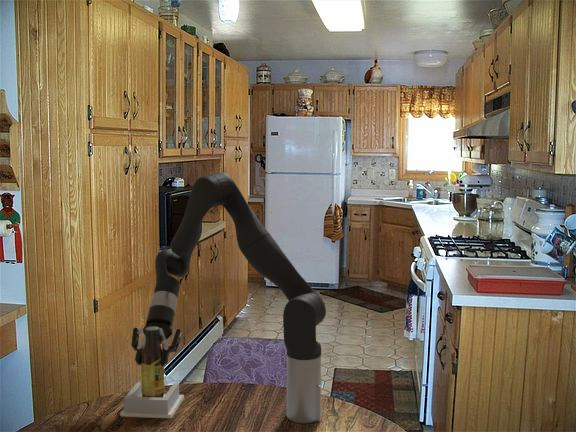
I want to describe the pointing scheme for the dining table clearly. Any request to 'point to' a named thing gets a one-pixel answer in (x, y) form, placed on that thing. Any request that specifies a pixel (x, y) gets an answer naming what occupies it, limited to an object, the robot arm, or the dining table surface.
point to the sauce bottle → (152, 365)
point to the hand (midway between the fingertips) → (150, 364)
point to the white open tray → (151, 403)
